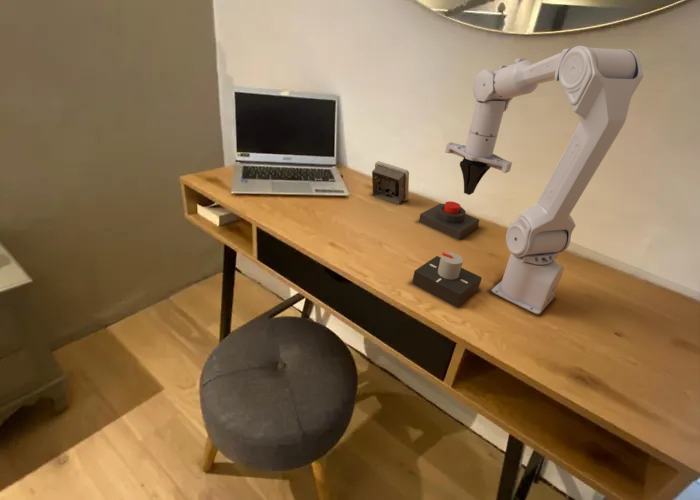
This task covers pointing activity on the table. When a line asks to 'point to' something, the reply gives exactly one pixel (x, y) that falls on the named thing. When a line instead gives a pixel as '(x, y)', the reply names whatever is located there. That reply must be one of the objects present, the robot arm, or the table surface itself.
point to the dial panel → (446, 283)
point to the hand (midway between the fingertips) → (468, 192)
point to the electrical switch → (390, 182)
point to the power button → (452, 207)
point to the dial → (450, 265)
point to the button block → (449, 221)
